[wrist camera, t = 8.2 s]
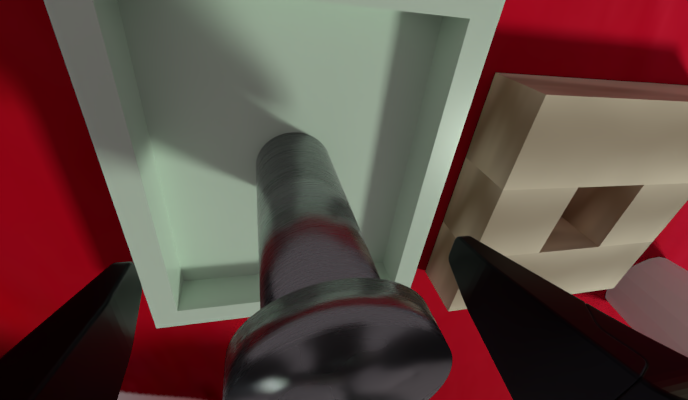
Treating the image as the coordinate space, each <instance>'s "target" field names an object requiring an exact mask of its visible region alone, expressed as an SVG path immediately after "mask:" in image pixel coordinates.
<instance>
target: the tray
mask: <svg viewBox="0 0 688 400" xmlns="http://www.w3.org/2000/svg"><path fill="white" fill-rule="evenodd" d="M44 3H45V6H46V9H47V12H48V15H49V18H50V21H51V24H52V26H53V29H54V32H55V35H56V38H57V41H58V44H59V47H60V50H61V53H62V55H63V58H64V61H65V64H66V67H67V70H68V73H69V76H70V79H71V82H72V85H73V87H74V90H75V93H76V96H77V99H78V102H79V105H80V108H81V111H82V114H83V116H84V119H85V122H86V125H87V128H88V131H89V134H90V137H91V140H92V143H93V146H94V148H95V151H96V154H97V157H98V160H99V163H100V166H101V169H102V172H103V175H104V177H105V180H106V183H107V186H108V189H109V192H110V195H111V198H112V201H113V204H114V207H115V209H116V212H117V215H118V218H119V221H120V224H121V227H122V230H123V233H124V236H125V239H126V241H127V244H128V247H129V250H130V253H131V256H132V259H133V262H134V265H135V267H136V270H137V273H138V276H139V279H140V282H141V285H142V288H143V291H144V294H145V297H146V300H147V302H148V305H149V308H150V311H151V314H152V317H153V320H154V323H155V326H156V328H164V327H172V326H180V325H188V324H196V323H204V322H212V321H220V320H229V319H237V318H245V317H251V316H252V315H254V314H255V313H256V312H257V311H259V310H260V285H259V253H258V222H257V190H256V160H257V156H258V154H259V152H260V150H261V149H262V147H263V146H264V145H265V144H266V143H267V142H268V141H269V140H271V139H272V138H274V137H276V136H278V135H281V134H284V133H291V132H298V133H304V134H308V135H310V136H312V137H314V138H316V139H317V140H319V141H320V142H321V143H322V144H323V145H324V147H325V148H326V150H327V152H328V154H329V157H330V159H331V161H332V164H333V166H334V169H335V171H336V173H337V176H338V178H339V181H340V183H341V185H342V188H343V190H344V193H345V195H346V197H347V200H348V202H349V205H350V207H351V209H352V212H353V214H354V217H355V219H356V221H357V224H358V226H359V229H360V231H361V233H362V236H363V238H364V241H365V243H366V245H367V248H368V250H369V253H370V255H371V257H372V260H373V262H374V265H375V267H376V269H377V272H378V274H379V277H380V279H384V280H390V281H393V282H397V283H400V284H402V285H404V286H407V287H409V288H411V285H412V282H413V279H414V276H415V273H416V270H417V267H418V263H419V260H420V257H421V254H422V251H423V248H424V245H425V242H426V239H427V236H428V233H429V230H430V227H431V224H432V221H433V218H434V215H435V212H436V209H437V206H438V203H439V200H440V197H441V194H442V191H443V188H444V185H445V182H446V179H447V176H448V173H449V170H450V167H451V163H452V160H453V157H454V154H455V151H456V148H457V145H458V142H459V139H460V136H461V133H462V130H463V127H464V124H465V121H466V118H467V115H468V112H469V109H470V106H471V103H472V100H473V97H474V94H475V91H476V88H477V85H478V82H479V79H480V76H481V73H482V70H483V67H484V63H485V60H486V57H487V54H488V51H489V48H490V45H491V42H492V39H493V36H494V33H495V30H496V27H497V24H498V21H499V18H500V15H501V12H502V9H503V6H504V3H505V0H44Z"/></svg>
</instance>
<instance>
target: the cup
mask: <svg viewBox="0 0 688 400" xmlns="http://www.w3.org/2000/svg"><path fill="white" fill-rule="evenodd" d="M605 298H606V300H607V301H608V302H609V303H610V304H611V305H612V306H613V308H614V309H615V310H616V311H617V312H618V313H619V314H620V315H621V316H622V317H623V319H624V320H625V321H626V322H627V323H628V324H629V325H630V326H631V327H632V328H633V329H634V330H636V331H638V332H640V333H641V334H643V335H645V336H647V337H649V338H651V339H653V340H655V341H657V342H659V343H661V344H663V345H665V346H667V347H669V348H671V349H673V350H674V351H676V352H678V353H680V354H682V355H684V356H686V357H688V271H687V270H685V269H683V268H682V267H680V266H678V265H676V264H675V263H673V262H671V261H670V260H668V259H666V258H662V257H656V258H651V259H647V260H645V261H643V262H641V263H638V264H636V265H634V266H633V267H631V268H630V269H629V270H628V271H627V273H626V274H625V275H624V276H623V277H622V279H621V280H620V281H619V282H618V283H617V285H616V286H615V287H614V288H612V289H608V290H607V291H606V295H605Z"/></svg>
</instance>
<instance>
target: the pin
mask: <svg viewBox="0 0 688 400" xmlns="http://www.w3.org/2000/svg"><path fill="white" fill-rule="evenodd" d="M256 190H257V222H258V253H259V285H260V310H259V311H257V312H256V313H255V314H254V315H252V316H251V317H250V318H249V319H248V320H247V321H245V323H244V324H243V325H242V326H241V327H240V328H239V329H238V330H237V332H236V333H235V335H234V336H233V338H232V339H231V341H230V343H229V345H228V348H227V351H226V356H225V368H224V384H223V400H429V399H430V398H431V397H432V396H433V395H434V394H435V393H436V392H437V391H438V390H439V388H440V387H441V386H442V385H443V383H444V382H445V380H446V379H447V377H448V375H449V373H450V370H451V366H452V354H451V351H450V348H449V346H448V344H447V343H446V341H445V339H444V337H443V335H442V333H441V331H440V329H439V327H438V325H437V323H436V321H435V320H434V318H433V316H432V314H431V312H430V310H429V308H428V306H427V304H426V303H425V301H424V300H423V298H422V297H421V296H420V295H419V294H418V293H417V292H415V291H414V290H412V289H411V288H409V287H407V286H404V285H402V284H400V283H397V282H393V281H390V280H384V279H380V277H379V274H378V272H377V269H376V267H375V265H374V262H373V260H372V257H371V255H370V253H369V250H368V248H367V245H366V243H365V241H364V238H363V236H362V233H361V231H360V229H359V226H358V224H357V221H356V219H355V217H354V214H353V212H352V209H351V207H350V205H349V202H348V200H347V197H346V195H345V193H344V190H343V188H342V185H341V183H340V181H339V178H338V176H337V173H336V171H335V169H334V166H333V164H332V161H331V159H330V157H329V154H328V152H327V150H326V148H325V147H324V145H323V144H322V143H321V142H320V141H319V140H317V139H316V138H314V137H312V136H310V135H308V134H304V133H298V132H291V133H284V134H281V135H278V136H276V137H274V138H272V139H271V140H269V141H268V142H267V143H266V144H265V145H264V146H263V147H262V149H261V150H260V152H259V154H258V156H257V160H256Z"/></svg>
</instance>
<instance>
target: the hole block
mask: <svg viewBox="0 0 688 400" xmlns="http://www.w3.org/2000/svg"><path fill="white" fill-rule="evenodd" d="M687 200H688V85H674V84H659V83H644V82H629V81H614V80H599V79H584V78H569V77H554V76H539V75H524V74H509V73H495V76H494V78H493V81H492V84H491V87H490V90H489V93H488V95H487V98H486V101H485V104H484V107H483V110H482V112H481V115H480V118H479V121H478V124H477V127H476V129H475V132H474V135H473V138H472V141H471V144H470V146H469V149H468V152H467V155H466V158H465V161H464V163H463V166H462V169H461V172H460V175H459V178H458V180H457V183H456V186H455V189H454V192H453V195H452V197H451V200H450V203H449V206H448V209H447V212H446V214H445V217H444V220H443V223H442V226H441V229H440V231H439V234H438V237H437V240H436V243H435V246H434V248H433V251H432V254H431V257H430V260H429V263H428V265H427V268H426V271H425V272H426V273H427V275H428V277H429V279H430V280H431V282H432V284H433V286H434V287H435V289H436V291H437V293H438V294H439V296H440V298H441V300H442V301H443V303H444V305H445V307H446V308H447V310H448V311H455V310H462V309H467V307H466V305H465V303H464V300H463V298H462V295H461V293H460V290H459V288H458V285H457V282H456V280H455V277H454V275H453V272H452V269H451V267H450V264H449V260H448V257H449V253H450V250H451V248H452V245H453V243H454V240H455V239H456V238H457V237H458V236H471V237H473V238H475V239H476V240H478V241H480V242H481V243H483V244H485V245H487V246H488V247H490V248H492V249H494V250H495V251H497V252H499V253H501V254H502V255H504V256H506V257H507V258H509V259H511V260H513V261H514V262H516V263H518V264H520V265H521V266H523V267H525V268H527V269H528V270H530V271H532V272H533V273H535V274H537V275H539V276H540V277H542V278H544V279H546V280H547V281H549V282H551V283H553V284H554V285H556V286H558V287H559V288H561V289H563V290H565V291H566V292H568V293H570V294H576V293H583V292H590V291H598V290H605V289H612V288H614V287H615V286H616V285H617V283H618V282H619V281H620V280H621V279H622V277H623V276H624V275H625V274H626V273H627V271H628V270H629V269H630V268H631V267H632V266H633V264H634V263H635V262H636V261H637V260H638V258H639V257H640V256H641V255H642V254H643V252H644V251H645V250H646V249H647V248H648V247H649V245H650V244H651V243H652V242H653V241H654V239H655V238H656V237H657V236H658V235H659V233H660V232H661V231H662V230H663V229H664V228H665V226H666V225H667V224H668V223H669V222H670V220H671V219H672V218H673V217H674V216H675V214H676V213H677V212H678V211H679V210H680V209H681V207H682V206H683V205H684V204H685V203H686V201H687Z"/></svg>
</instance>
